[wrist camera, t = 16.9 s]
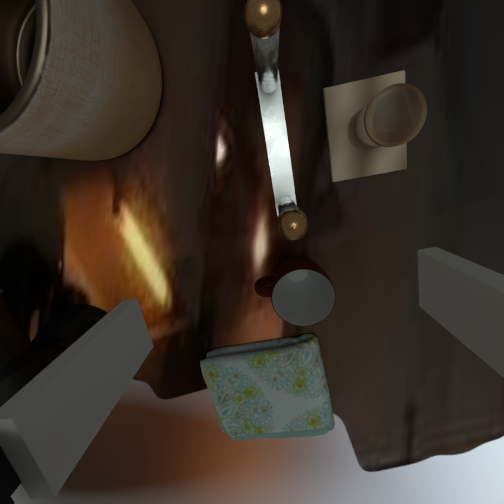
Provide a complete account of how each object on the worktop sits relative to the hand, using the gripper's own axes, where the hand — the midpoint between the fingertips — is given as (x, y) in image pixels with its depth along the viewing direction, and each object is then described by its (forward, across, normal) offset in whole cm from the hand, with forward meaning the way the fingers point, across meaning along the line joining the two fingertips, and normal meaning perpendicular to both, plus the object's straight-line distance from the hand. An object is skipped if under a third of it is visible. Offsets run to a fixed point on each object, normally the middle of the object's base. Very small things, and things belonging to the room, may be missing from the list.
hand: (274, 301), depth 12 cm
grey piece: (+29, +3, +9) cm, 31 cm away
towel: (+30, -6, -31) cm, 44 cm away
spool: (+28, +15, +9) cm, 33 cm away
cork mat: (+29, +15, +9) cm, 34 cm away
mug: (+30, +2, -10) cm, 31 cm away
